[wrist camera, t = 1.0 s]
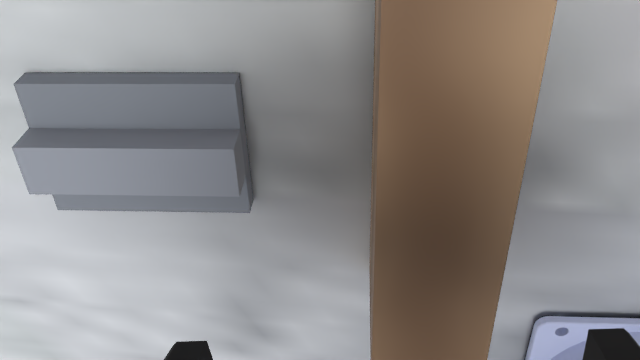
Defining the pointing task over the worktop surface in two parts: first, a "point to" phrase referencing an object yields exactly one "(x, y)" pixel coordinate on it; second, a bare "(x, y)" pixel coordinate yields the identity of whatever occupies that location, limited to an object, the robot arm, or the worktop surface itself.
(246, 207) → the fulcrum
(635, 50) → the worktop surface
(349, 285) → the worktop surface
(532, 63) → the batten
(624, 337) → the robot arm
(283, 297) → the worktop surface
